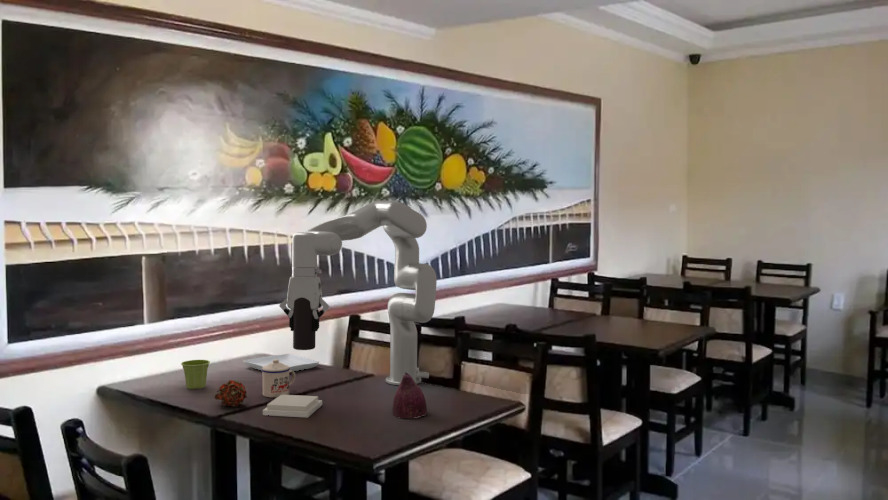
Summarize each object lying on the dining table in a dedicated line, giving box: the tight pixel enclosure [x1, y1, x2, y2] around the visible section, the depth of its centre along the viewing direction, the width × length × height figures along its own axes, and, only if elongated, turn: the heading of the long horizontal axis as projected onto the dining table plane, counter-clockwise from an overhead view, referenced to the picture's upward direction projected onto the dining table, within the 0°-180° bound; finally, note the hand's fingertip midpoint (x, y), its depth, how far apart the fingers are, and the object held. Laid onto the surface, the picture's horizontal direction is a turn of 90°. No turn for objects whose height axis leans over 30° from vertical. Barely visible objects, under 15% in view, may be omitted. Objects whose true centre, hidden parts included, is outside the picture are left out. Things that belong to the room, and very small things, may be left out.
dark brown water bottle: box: [292, 298, 316, 351], centre depth 236 cm, size 7×7×20 cm
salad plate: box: [243, 353, 320, 372], centre depth 292 cm, size 21×21×3 cm
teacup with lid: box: [261, 359, 297, 399], centre depth 254 cm, size 12×9×12 cm
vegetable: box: [391, 372, 428, 419], centre depth 230 cm, size 10×10×15 cm
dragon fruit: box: [213, 379, 248, 408], centre depth 240 cm, size 8×8×12 cm
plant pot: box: [180, 359, 211, 390], centre depth 262 cm, size 9×9×9 cm
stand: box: [262, 394, 323, 419], centre depth 235 cm, size 14×14×3 cm
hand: (304, 330), depth 236 cm, fingers closed on dark brown water bottle, 6 cm apart
